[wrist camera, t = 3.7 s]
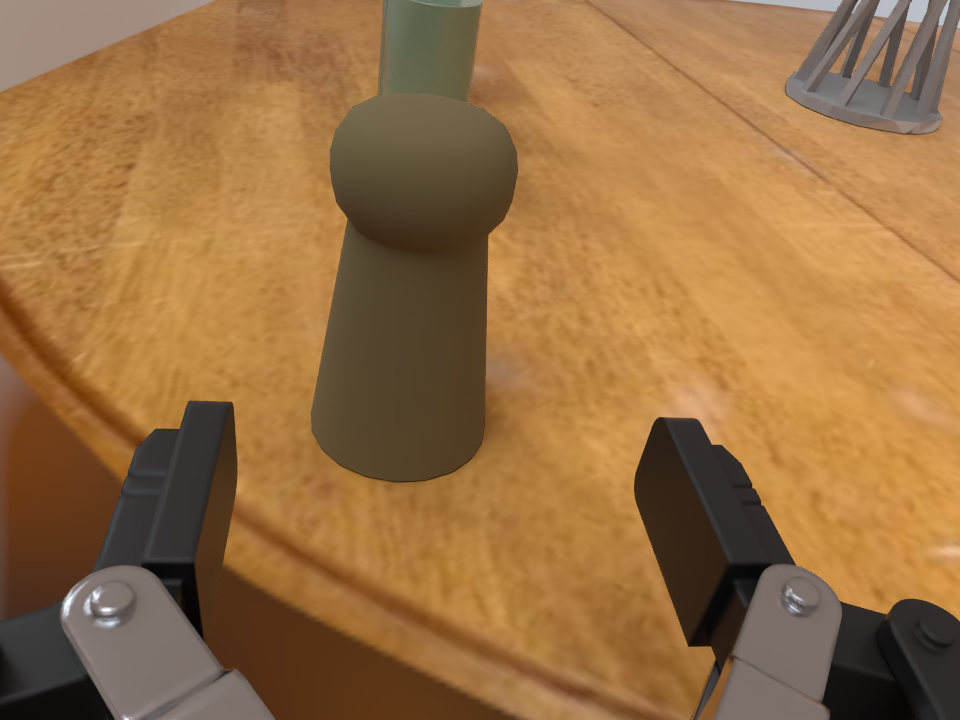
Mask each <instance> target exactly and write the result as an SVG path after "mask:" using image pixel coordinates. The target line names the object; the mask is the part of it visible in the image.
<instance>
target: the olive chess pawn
mask: <svg viewBox="0 0 960 720" xmlns="http://www.w3.org/2000/svg"><path fill="white" fill-rule="evenodd" d="M330 173H331V181H332V186H333V190H334V194H335V198H336V202H337V204H338V205H339V207H340V208H341V210H342V211H343V212H344V214H345V215H346V217H347V218H348V220H347V225H346V230H345V236H344V241H343V246H342V251H341V257H340V262H339V267H338V273H337V278H336V283H335V288H334V294H333V299H332V304H331V310H330V315H329V320H328V325H327V331H326V336H325V341H324V347H323V352H322V357H321V363H320V368H319V373H318V378H317V384H316V389H315V394H314V400H313V405H312V410H311V422H312V432H313V434H314V436H315V438H316V439H317V441H318V443H319V445H320V447H321V448H322V450H323V451H325V452H326V453H327V454H328V455H329V456H330V457H332V458H333V459H334V460H335V461H336V462H338V463H339V464H340V465H342V466H344V467H346V468H348V469H351V470H353V471H355V472H357V473H360V474H362V475H364V476H366V477H372V478H378V479H383V480H389V481H394V482H400V481H420V480H427V479H431V478H434V477H437V476H441V475H444V474H447V473H451V472H452V471H454V470H455V469H457V468H458V467H460V466H461V465H463V464H464V463H466V462H467V461H469V460H470V459H471V458H472V456H473V455H474V453H475V452H476V451H477V449H478V448H479V446H480V445H481V444H482V438H483V432H484V426H485V377H486V326H487V274H488V234H489V233H490V232H492V231H493V230H494V229H495V228H496V227H497V226H498V225H499V224H500V223H501V222H502V221H503V220H504V218H505V216H506V214H507V212H508V210H509V207H510V205H511V203H512V200H513V195H514V189H515V184H516V179H517V174H518V165H517V152H516V149H515V147H514V144H513V142H512V139H511V137H510V134H509V133H508V131H507V129H506V128H505V126H504V125H503V124H502V123H501V122H499V121H498V120H497V119H496V118H495V117H493V116H492V115H490V114H489V113H488V112H486V111H485V110H483V109H481V108H479V107H476V106H474V105H472V104H470V103H467V102H463V101H460V100H456V99H453V98H449V97H443V96H438V95H432V94H421V93H391V94H386V95H380V96H375V97H373V98H371V99H369V100H366V101H364V102H362V103H360V104H358V105H355V106H353V107H352V109H351V110H350V111H349V112H348V114H347V115H346V117H345V118H344V119H343V121H342V122H341V124H340V125H339V127H338V128H337V129H336V131H335V135H334V138H333V142H332V145H331V149H330Z"/></svg>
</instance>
